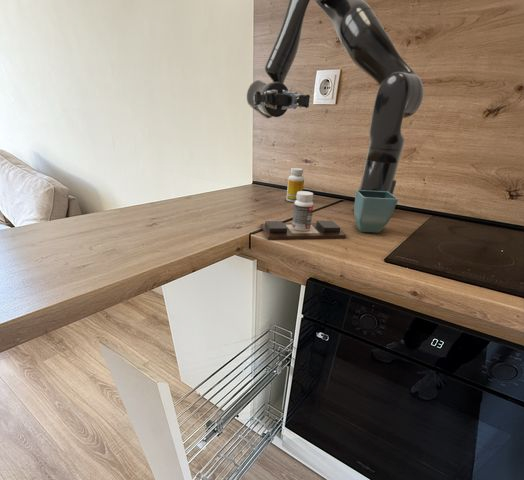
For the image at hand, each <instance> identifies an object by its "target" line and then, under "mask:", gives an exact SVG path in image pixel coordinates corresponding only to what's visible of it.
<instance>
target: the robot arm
mask: <svg viewBox="0 0 524 480" xmlns="http://www.w3.org/2000/svg"><path fill="white" fill-rule="evenodd" d="M310 1H311V0H288V3H287V7H286V11H285V14H284V18H283V21H282V24H281V26H280V28H279V29H280V30H279V32H278V35H277V37H276V40H275V42H274V45H273V47H272V49H271V51H270V54H269V56H268V58H267V61H266V62H265V65H264V73H265V74H266V76H267V77H268V78H269V79H270V81H271V82H269V83H266V82H263V81H262V80H259V79H258V80H254V81H253V82H251V84H250V85H249V87H248V89H247V92H246V102H247V104H248V106H249V107H250V108H251V109H253V110H254V111H255V112H257V113H258V114H260V116H262V117H263V118H265V119H271V118H272V117H273V118H280V117H282V116H283V115H285V114H286V112H287V111H288V110H289V109H290V110H296V109H297V108H305V109H308V108H309V107H310V98H311V95H310V94H304V93H300V94H298V92H296V91H290V90H289V89H288V87H287V86H286V85H285V84H284V83H285V81H286V78H287V76H288V73H289V72H290V70H291V67H292V65H293V63H294V60H295V58H296V56H297V53H298V49H299V46H300V41H301V40H300V39H301V36H302V29H303V24H304V20H305V16H306V12H307V10H308V9H307V8H308V6H309V3H310ZM313 1H314V2H315V4H316V5H317V6H318V7H319V8H320V9H321V10H322V11H323V12H324V13H325V15H326V16H327V17H328V18H329V20H330V21H331V23H332V25H333V27H334V28H333V29H334V30H335V33H336V36H337V38H338V40H339V42H340V43H341V45H342V47H343V49H344V51H345V52H346V53H347V56H348V57H349V58H350V59H351V61H352V62H353V64H355V65H356V66H357V67H358V68H359V69H360V70H361V71H363V72H364V73H365V74H366V75H368V76H369V77H370V78H371V79H372V80H374V82H375V83H377V85H378V86H379V87H378V89H377V92H376V95H375V98H374V103H373V109H372V115H371V120H370V126H369V130H368V131H369V133H368V134H369V135H368V136H369V145H368V149H367V154H366V157H365V162H364V167H363V171H362V176H361V181H360V185H359V189H358V190H366V191H385V192H390V193H391V194H392V195H394V191H395V187H396V184H397V180H395V177H396V173H397V170H398V167H399V162H400V159H401V156H402V152H403V148H404V145H405V140H406V139H405V136H404V135H403V133H402V125H403V120H404V119H406V118H409V117H412V116H413V115H414V114H415V113H416V112H417V111H418V110H419V109H420V107H421V105H422V104H423V100H424V92H425V91H424V84H423V81H422V79H421V78H420V77H419V75H418V74H417V73H416V72H415V71H414V70H413V68H411V66H410V65H409V64H408V63H407V62H406V61H405V60H404V58H403V57H402V56H401V55H400V53H399V52H398V50H397V47H396V46H395V45H394V43H393V42H392V39H391V38H390V36H389V35H388V32H387V31H386V30H385V28H384V27H383V24H382V23H381V21H380V20H379V18H378V17H377V15H376V13H375V11H373V9H372V7H371V6H370V5H369V4H368V3H367V1H365V0H313Z"/></svg>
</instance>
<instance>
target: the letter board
mask: <svg viewBox="0 0 524 480" xmlns="http://www.w3.org/2000/svg"><path fill="white" fill-rule="evenodd" d="M260 228H261V230H262V232H263V234H264V236H265V238H267V240H315V239H317V240H318V239H319V240H321V239H346V235H347V234H346V233H344V232H343V231H341V229H342V228H341V226H339V225H338V224H337V223H336V222H335V221H334V220H316V222H311V227H310V229H309V230H308V231H298V230H294V229H293V228H292V222H291V223H284V222H283V221H282V220H266V221H265V222H264V223H260Z"/></svg>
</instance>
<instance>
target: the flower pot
mask: <svg viewBox="0 0 524 480" xmlns="http://www.w3.org/2000/svg"><path fill="white" fill-rule="evenodd" d="M398 201H399V197H396V196H395V195H394V194H393V195H392V194H391V193H390V192H385V191H366V190H359V189H356V190H355V196H354V206H353V215H354V216H353V217H354V222H355V225H356V227H357V229H358V230H359V232H361V233H375V234H379V233H380V232H381V231H382V230H384V229H385V228H386V226H387V224H388V223H389V222H390V220H391V218H392V215H393V213H394V211H395V209H396V207H397V203H398Z"/></svg>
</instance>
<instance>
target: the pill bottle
mask: <svg viewBox="0 0 524 480" xmlns="http://www.w3.org/2000/svg"><path fill="white" fill-rule="evenodd" d="M296 199H297V200H296V201H295V202H293V212H292V213H293V214H292V222H291V223H292V228H293V229H294V230H298V231H308V230H309V229H310V227H311V223H312V219H313V211H314V202H313V200H314V193H313V192H311V191H307V190H303V191H299V192H297V195H296Z"/></svg>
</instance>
